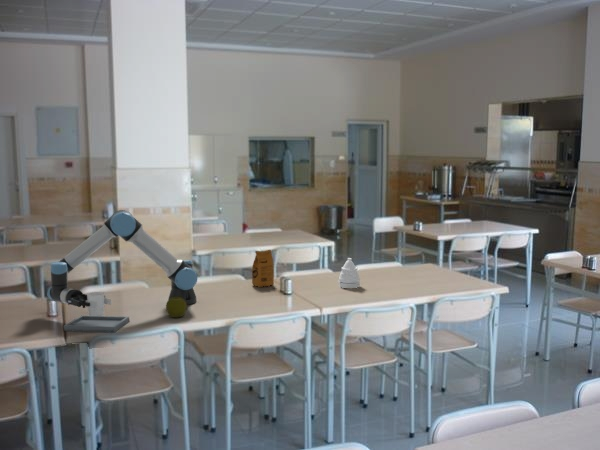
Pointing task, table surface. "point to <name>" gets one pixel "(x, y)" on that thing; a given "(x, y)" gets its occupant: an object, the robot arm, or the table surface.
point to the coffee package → (263, 269)
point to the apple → (176, 307)
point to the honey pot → (349, 275)
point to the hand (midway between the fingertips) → (102, 303)
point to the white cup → (99, 300)
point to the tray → (96, 323)
